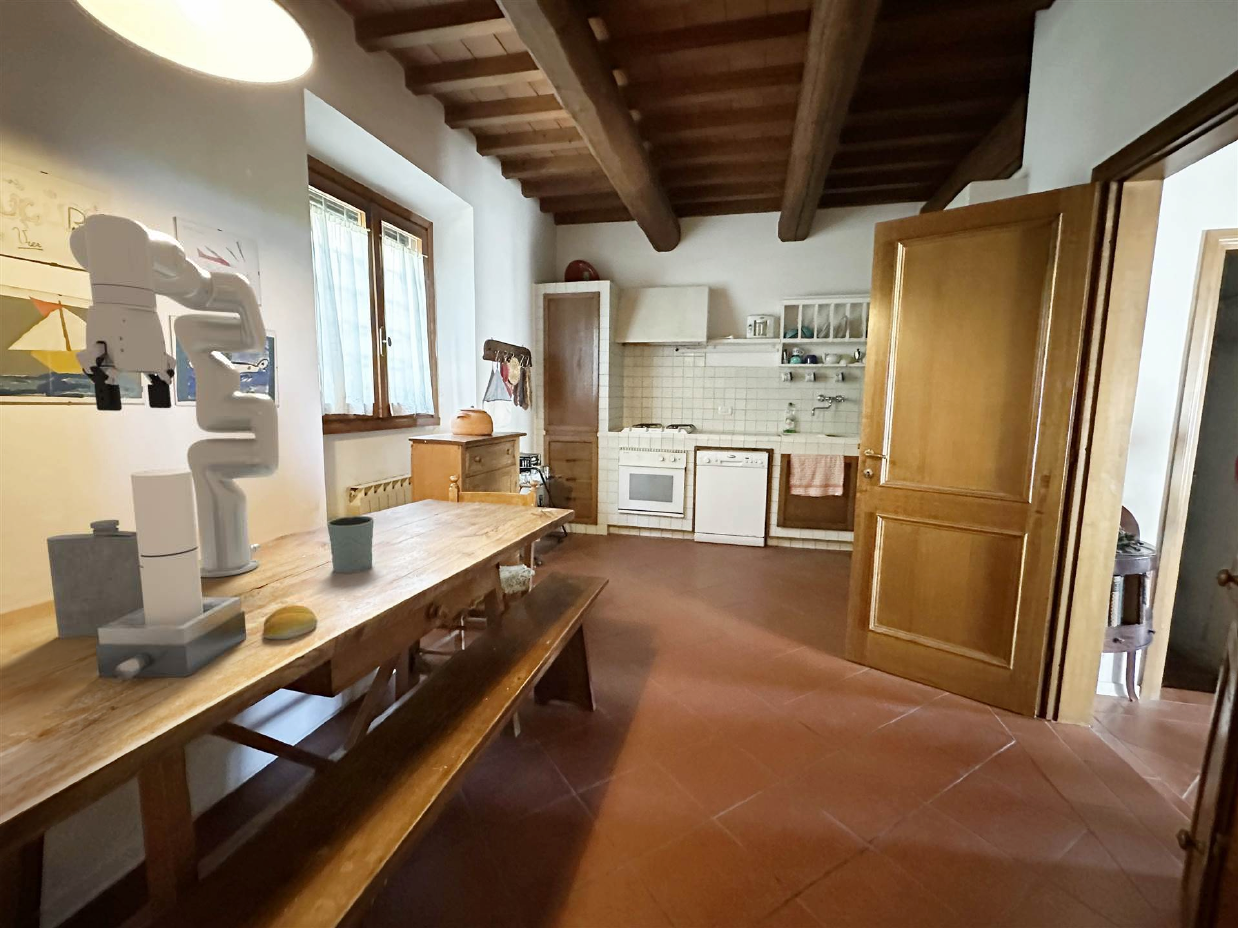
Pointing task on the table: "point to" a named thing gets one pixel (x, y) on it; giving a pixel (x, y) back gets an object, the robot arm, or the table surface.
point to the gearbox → (170, 642)
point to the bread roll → (289, 622)
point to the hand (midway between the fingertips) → (136, 409)
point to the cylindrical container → (167, 546)
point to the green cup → (351, 543)
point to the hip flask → (94, 578)
